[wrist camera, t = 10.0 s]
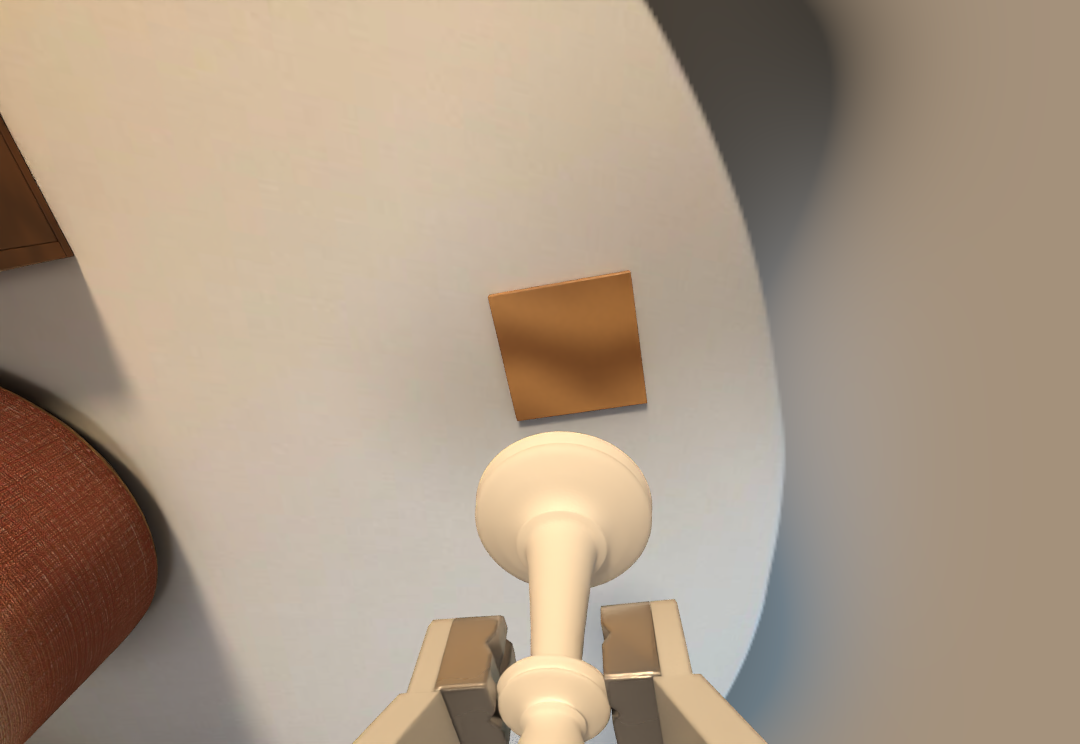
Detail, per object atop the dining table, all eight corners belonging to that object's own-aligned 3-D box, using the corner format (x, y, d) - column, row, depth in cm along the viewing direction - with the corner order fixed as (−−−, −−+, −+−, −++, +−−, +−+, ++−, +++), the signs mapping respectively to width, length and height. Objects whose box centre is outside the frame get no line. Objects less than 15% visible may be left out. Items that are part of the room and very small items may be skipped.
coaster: (488, 294, 26) (487, 296, 25) (629, 270, 25) (630, 271, 24) (517, 418, 28) (516, 421, 28) (646, 400, 27) (647, 403, 27)
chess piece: (441, 504, 15) (214, 1080, 6) (561, 395, 13) (520, 948, 4) (564, 600, 16) (544, 1215, 7) (689, 509, 14) (891, 1154, 5)
